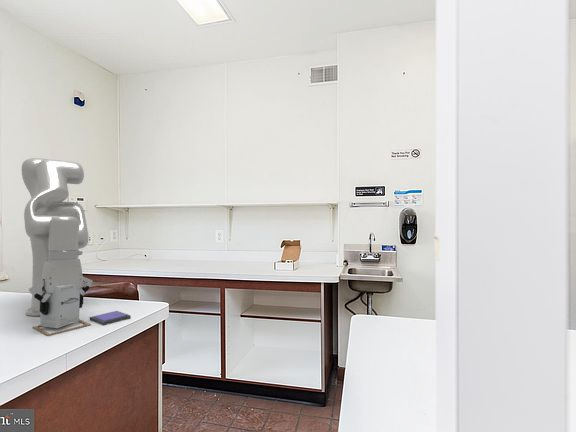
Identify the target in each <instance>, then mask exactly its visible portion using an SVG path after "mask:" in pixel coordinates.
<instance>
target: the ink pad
mask: <svg viewBox="0 0 576 432" xmlns="http://www.w3.org/2000/svg"><path fill="white" fill-rule="evenodd" d="M130 319H131V314H128V313H124V312H122V311H119V310H115V311H110V312H105V313H102V314H97V315H92V316H89V321H91V322H94V323H96V324H99V325H100V326H106V325H110V324H113V323H117V322H122V321H125V320H130Z"/></svg>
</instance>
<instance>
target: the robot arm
mask: <svg viewBox="0 0 576 432" xmlns="http://www.w3.org/2000/svg"><path fill="white" fill-rule="evenodd" d="M21 176H22V180H23V184H24V185H25V188H26V189H27V190H28V193H29V194H30V199H29V201H28V202H27V203H26V205H25V207H24V212H23V219H24V220H23V221H24V229H25V230H24V231H25V234H26V235H27V236H28V237H29V241H30V246H31V253H32V276H31V278H32V281H31V282H32V285H31V287H30V288H28V292H29V293H30V294H31V307H30V308H28V309H27V310H26V311H25V315H27V316H30V317H41V313H42V314H43V315H48V304H49V303H48V302H47V299H48V298H49V297H50V295H51V294H53V293H54V291H55V287H56V286H62V285H70V284H74V285H75V286H76V289H80V305H79V309H82V307H83V305H84V296H85V294H86V293H87V292H88V290H89V289H90V287H91V285H92V284H93V279H91V278H87V277H85V276H83V269H82V263H81V259H80V257H79V256H82V255H83V250H82V249H84V248H86V247H87V245H88V244H89V240H90V239H89V231H88V225H87V219H86V215H85V210H84V208H83V206H82V205H81V203H79V202H74V201H65V200H66V199H68V197H69V188H68V184H69V185H81V184H82V183H83V181H84V178H85V173H84V169H83V166H82V165H81V164H80V163H79V162H76V161H68V160H59V159H49V158H39V157H38V158H36V157H35V158H28V159H25V160H24V161H23V162H22V164H21ZM80 249H81V250H80ZM83 283H84V286H83ZM43 286H45V289H46V290H45V291H44V290H43ZM41 291H42V292H43V291H44V292H43V293H42V294H41Z"/></svg>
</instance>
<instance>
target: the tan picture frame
mask: <svg viewBox="0 0 576 432" xmlns="http://www.w3.org/2000/svg"><path fill="white" fill-rule="evenodd" d="M78 323H80V324H82V325H79V326H75V327H71V328H67V329H62V330H59V331H55V332H51V333H50V332H47V331H46V330H43V329H42V327H44V326H40V324H38V325H35V326H32V327H31V328H32V329H34V330H35V331H37V332H39V334H40V333H41V334H42V335H44V336H46V337H50V336H55V335H58V334H62V333H66V332H70V331H73V330H79V329H81V328H85V327H89V326H92V324H91V323H89V322H87V321H84V320H82V319H80V318H79V321H78Z"/></svg>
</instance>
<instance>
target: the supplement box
mask: <svg viewBox="0 0 576 432" xmlns="http://www.w3.org/2000/svg"><path fill="white" fill-rule="evenodd" d="M43 290H44V291H45V290H46V289H45V286H43ZM44 291H43V292H44ZM43 292H42V291H41V294H42V293H43ZM47 302H48V303H49V304H48V315H43V314H42V313H41V316H40V321H39V322H40V323H39V325H40V326H43V327H46V328H52V329H59V328H61V327H64V326H68V325H70V324H71V325H72V324H74V323H77V322H78V321H79V319H80V308H79V305H80V289H76V286H75V285H74V284H70V285H62V286H56V287H55V291H54V293H53V294H51V295H50V297H49V298H48V299H47ZM78 323H79V322H78Z"/></svg>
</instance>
